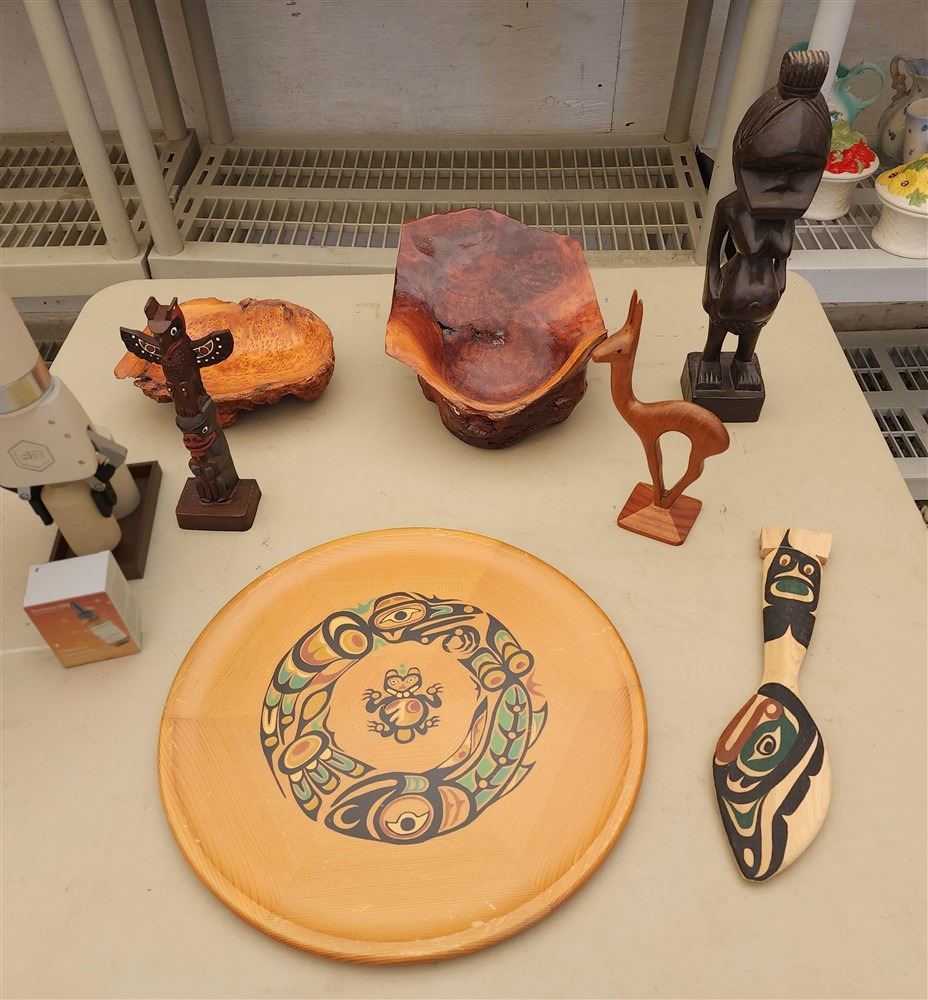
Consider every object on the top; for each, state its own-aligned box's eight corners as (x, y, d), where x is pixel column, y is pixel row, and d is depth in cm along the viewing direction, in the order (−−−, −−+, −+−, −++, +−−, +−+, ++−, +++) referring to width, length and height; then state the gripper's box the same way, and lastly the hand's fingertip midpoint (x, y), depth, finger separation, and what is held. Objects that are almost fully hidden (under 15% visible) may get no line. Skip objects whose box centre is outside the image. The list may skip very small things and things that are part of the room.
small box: (63, 669, 89) (19, 608, 81) (69, 626, 93) (27, 564, 85) (142, 653, 90) (105, 591, 82) (145, 611, 93) (110, 548, 86)
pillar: (86, 524, 102) (51, 463, 95) (95, 488, 106) (62, 428, 99) (136, 518, 102) (106, 456, 95) (144, 482, 107) (115, 421, 99)
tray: (52, 593, 96) (43, 579, 94) (82, 485, 108) (74, 470, 106) (144, 581, 96) (136, 566, 94) (164, 475, 108) (157, 460, 106)
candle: (119, 554, 96) (84, 492, 88) (68, 563, 95) (30, 500, 88) (124, 519, 99) (91, 456, 92) (76, 526, 99) (39, 464, 92)
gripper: (-100, 419, 78) (-8, 548, 91) (91, 395, 79) (155, 527, 92) (-74, 368, 83) (10, 498, 96) (105, 346, 84) (164, 478, 97)
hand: (80, 511), depth 94 cm, fingers closed on candle, 5 cm apart
